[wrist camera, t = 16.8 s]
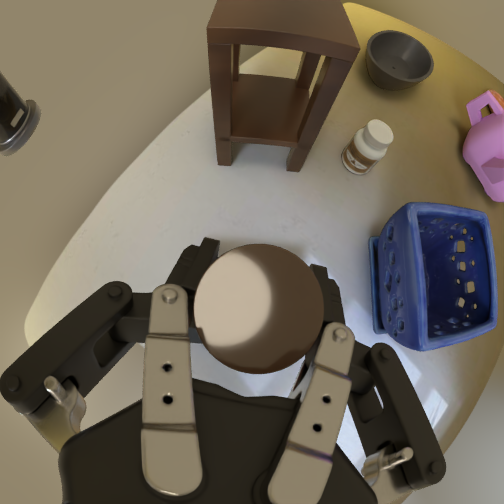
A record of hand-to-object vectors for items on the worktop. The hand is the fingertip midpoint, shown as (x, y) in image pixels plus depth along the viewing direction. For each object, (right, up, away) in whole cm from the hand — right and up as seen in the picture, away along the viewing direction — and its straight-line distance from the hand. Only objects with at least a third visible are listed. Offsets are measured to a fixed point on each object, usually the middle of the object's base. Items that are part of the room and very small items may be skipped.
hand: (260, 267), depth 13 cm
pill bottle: (+13, +13, +21) cm, 28 cm away
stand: (+1, +16, +20) cm, 26 cm away
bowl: (+26, +35, +25) cm, 50 cm away
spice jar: (-1, -2, +4) cm, 4 cm away
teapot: (+45, +18, +24) cm, 54 cm away
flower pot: (+19, -3, +18) cm, 26 cm away
